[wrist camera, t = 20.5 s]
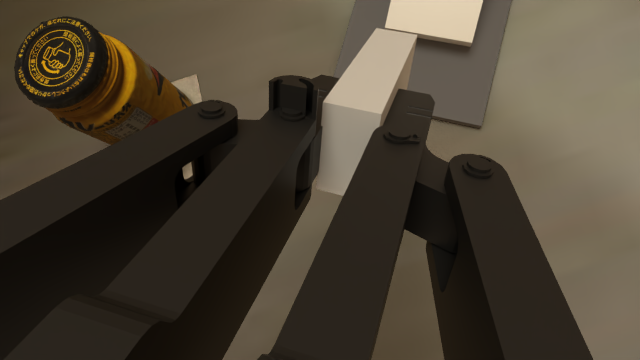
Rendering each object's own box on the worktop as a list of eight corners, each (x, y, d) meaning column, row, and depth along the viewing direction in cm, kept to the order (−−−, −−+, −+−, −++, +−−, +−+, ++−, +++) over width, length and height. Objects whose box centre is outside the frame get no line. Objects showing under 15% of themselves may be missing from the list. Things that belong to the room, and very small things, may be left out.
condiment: (197, 75, 37) (104, -16, 25) (216, 175, 35) (125, 127, 23) (114, 100, 37) (-14, 24, 26) (128, 200, 35) (-3, 166, 24)
